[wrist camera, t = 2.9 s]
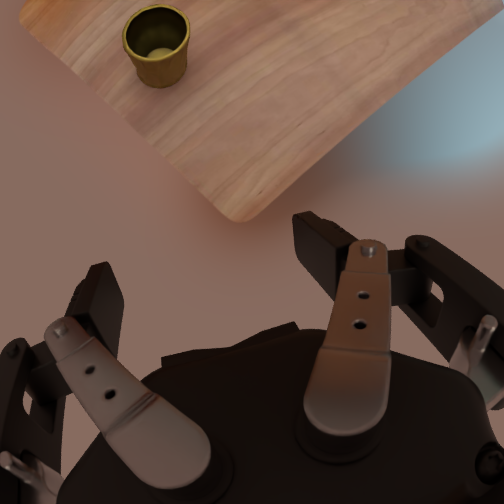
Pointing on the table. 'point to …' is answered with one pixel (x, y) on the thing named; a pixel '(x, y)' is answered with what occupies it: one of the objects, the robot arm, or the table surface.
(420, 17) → the table surface
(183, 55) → the vase
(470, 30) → the table surface
